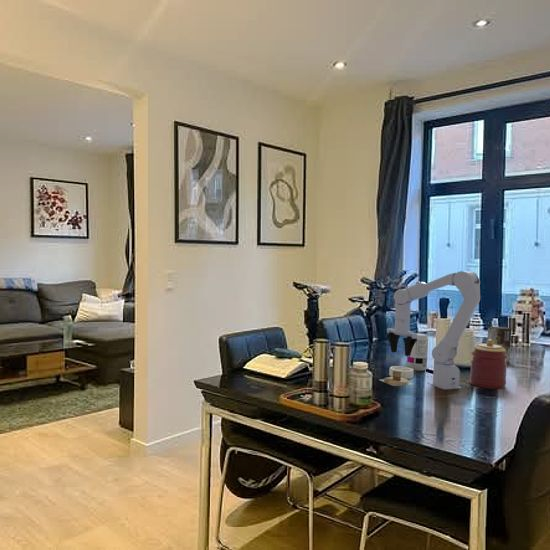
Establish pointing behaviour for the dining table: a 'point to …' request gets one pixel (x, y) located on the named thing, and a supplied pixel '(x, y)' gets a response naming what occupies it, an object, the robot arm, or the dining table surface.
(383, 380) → the mat
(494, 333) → the coffee box
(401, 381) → the lid
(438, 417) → the dining table surface
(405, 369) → the bowl
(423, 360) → the supplement can
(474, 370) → the canister
